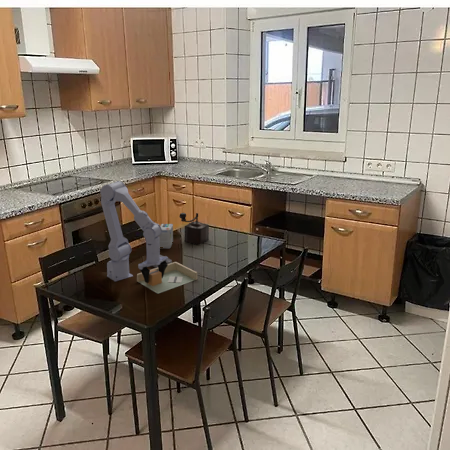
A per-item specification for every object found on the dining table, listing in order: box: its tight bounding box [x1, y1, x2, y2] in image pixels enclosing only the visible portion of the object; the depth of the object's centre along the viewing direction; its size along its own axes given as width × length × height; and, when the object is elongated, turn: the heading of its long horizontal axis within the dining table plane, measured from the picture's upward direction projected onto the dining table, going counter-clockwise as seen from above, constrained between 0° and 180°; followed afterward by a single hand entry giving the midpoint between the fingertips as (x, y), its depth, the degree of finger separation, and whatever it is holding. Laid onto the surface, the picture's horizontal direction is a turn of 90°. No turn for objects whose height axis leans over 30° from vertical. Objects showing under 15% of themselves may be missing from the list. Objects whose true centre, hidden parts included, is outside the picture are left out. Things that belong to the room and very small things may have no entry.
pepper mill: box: [179, 212, 210, 246], centre depth 248 cm, size 16×11×18 cm
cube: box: [148, 268, 162, 286], centre depth 198 cm, size 5×5×5 cm
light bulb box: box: [159, 223, 174, 249], centre depth 243 cm, size 11×7×11 cm, turn 178°
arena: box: [136, 261, 198, 294], centre depth 201 cm, size 22×16×4 cm
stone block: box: [145, 254, 173, 268], centre depth 219 cm, size 12×5×10 cm
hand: (153, 279), depth 198 cm, fingers open, 7 cm apart
